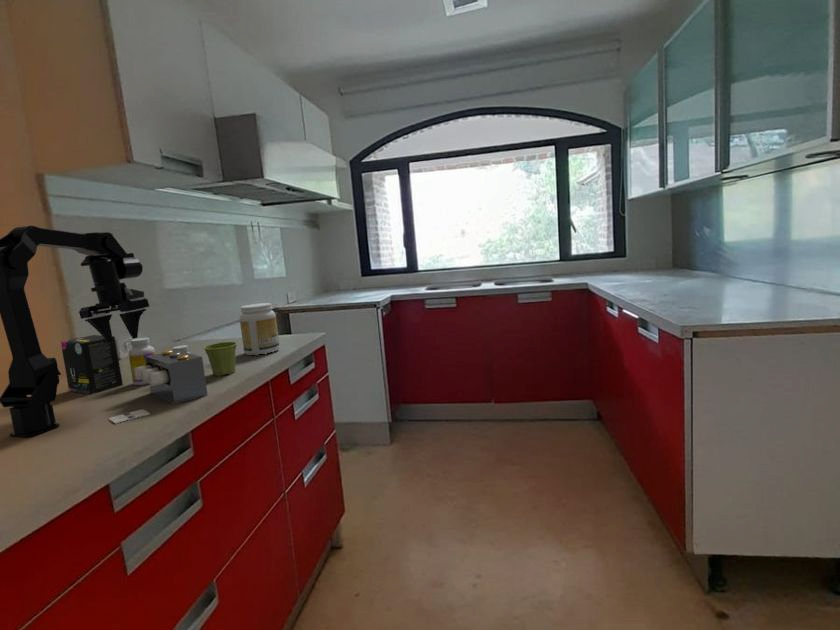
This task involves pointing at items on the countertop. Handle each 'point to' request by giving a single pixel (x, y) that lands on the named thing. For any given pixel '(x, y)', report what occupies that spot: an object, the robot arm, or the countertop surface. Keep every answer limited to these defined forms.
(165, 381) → the button
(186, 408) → the countertop surface
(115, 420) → the card
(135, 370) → the button
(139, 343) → the supplement bottle
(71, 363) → the tampon box
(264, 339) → the supplement tub
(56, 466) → the countertop surface
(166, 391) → the console
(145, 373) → the button
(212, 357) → the plant pot
